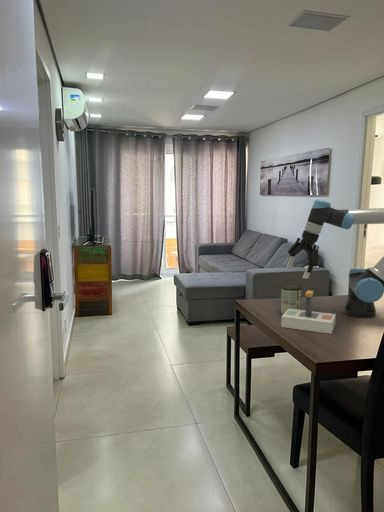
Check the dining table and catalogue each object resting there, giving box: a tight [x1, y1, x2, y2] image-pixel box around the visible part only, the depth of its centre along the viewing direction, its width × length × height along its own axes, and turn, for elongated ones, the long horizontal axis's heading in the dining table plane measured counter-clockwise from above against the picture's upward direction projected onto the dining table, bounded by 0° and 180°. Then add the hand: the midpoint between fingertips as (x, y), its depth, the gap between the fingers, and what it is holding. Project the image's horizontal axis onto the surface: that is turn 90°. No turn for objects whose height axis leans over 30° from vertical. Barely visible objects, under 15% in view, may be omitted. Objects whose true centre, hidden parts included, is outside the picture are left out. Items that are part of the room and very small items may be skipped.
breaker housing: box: [280, 309, 337, 335], centre depth 177 cm, size 22×14×5 cm, turn 63°
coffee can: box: [280, 283, 303, 315], centre depth 197 cm, size 10×10×14 cm
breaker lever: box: [305, 290, 314, 316], centre depth 176 cm, size 3×6×11 cm, turn 153°
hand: (296, 273), depth 186 cm, fingers open, 13 cm apart
